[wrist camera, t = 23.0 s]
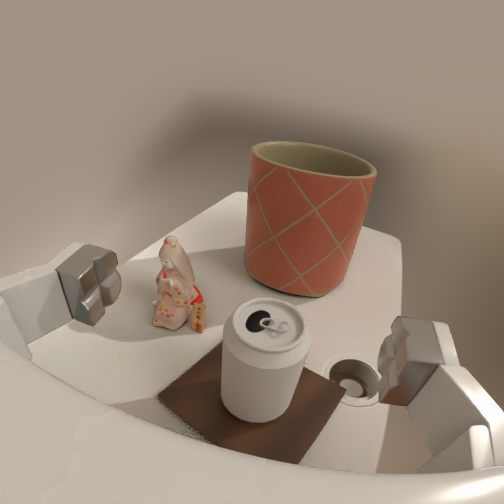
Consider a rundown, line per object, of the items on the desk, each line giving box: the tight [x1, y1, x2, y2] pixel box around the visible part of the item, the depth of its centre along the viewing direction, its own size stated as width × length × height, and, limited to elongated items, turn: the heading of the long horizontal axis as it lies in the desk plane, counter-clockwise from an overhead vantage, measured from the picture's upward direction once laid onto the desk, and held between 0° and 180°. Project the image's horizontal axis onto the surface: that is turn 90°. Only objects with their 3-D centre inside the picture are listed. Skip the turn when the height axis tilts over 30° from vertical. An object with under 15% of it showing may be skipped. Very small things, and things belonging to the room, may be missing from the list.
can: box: [221, 297, 311, 423], centre depth 28 cm, size 8×8×12 cm
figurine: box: [152, 236, 206, 333], centre depth 39 cm, size 9×7×12 cm
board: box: [158, 341, 347, 465], centre depth 31 cm, size 16×14×1 cm
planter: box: [245, 141, 377, 297], centre depth 49 cm, size 19×19×20 cm
